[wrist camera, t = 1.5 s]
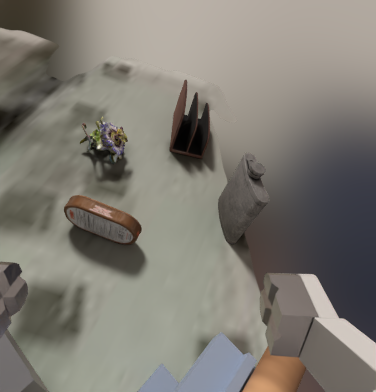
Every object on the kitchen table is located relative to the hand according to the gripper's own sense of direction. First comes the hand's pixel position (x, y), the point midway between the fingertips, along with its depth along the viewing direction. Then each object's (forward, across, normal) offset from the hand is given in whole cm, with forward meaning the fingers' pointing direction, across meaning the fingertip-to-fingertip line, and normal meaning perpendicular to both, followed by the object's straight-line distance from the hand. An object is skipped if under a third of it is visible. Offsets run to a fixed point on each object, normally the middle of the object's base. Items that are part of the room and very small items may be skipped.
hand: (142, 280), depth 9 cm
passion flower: (+58, +22, +17) cm, 65 cm away
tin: (+37, +17, +26) cm, 48 cm away
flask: (+49, -10, +30) cm, 58 cm away
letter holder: (+77, +1, +17) cm, 79 cm away
